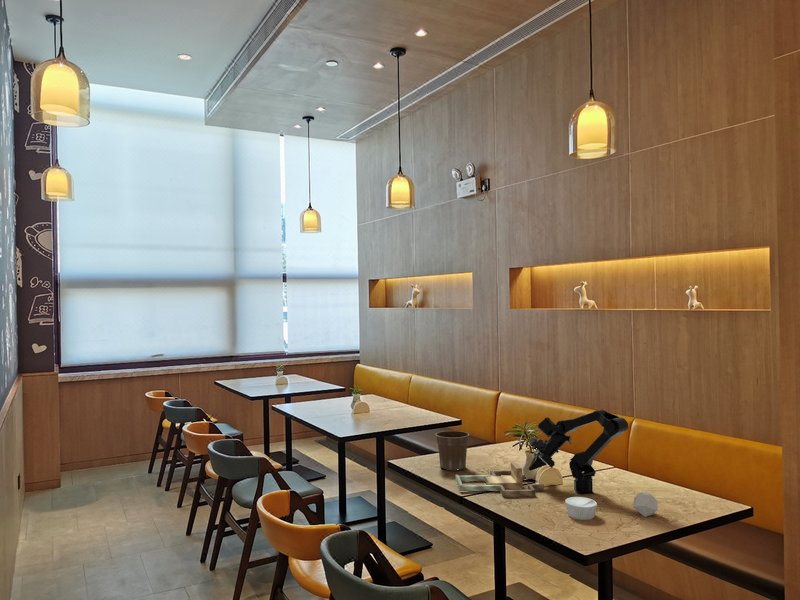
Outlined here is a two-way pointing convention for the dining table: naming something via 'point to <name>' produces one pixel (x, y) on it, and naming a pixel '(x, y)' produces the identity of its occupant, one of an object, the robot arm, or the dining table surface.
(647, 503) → the die
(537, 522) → the dining table surface
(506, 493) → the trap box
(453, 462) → the plant pot
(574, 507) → the ramekin
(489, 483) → the beige l-shaped bracket
